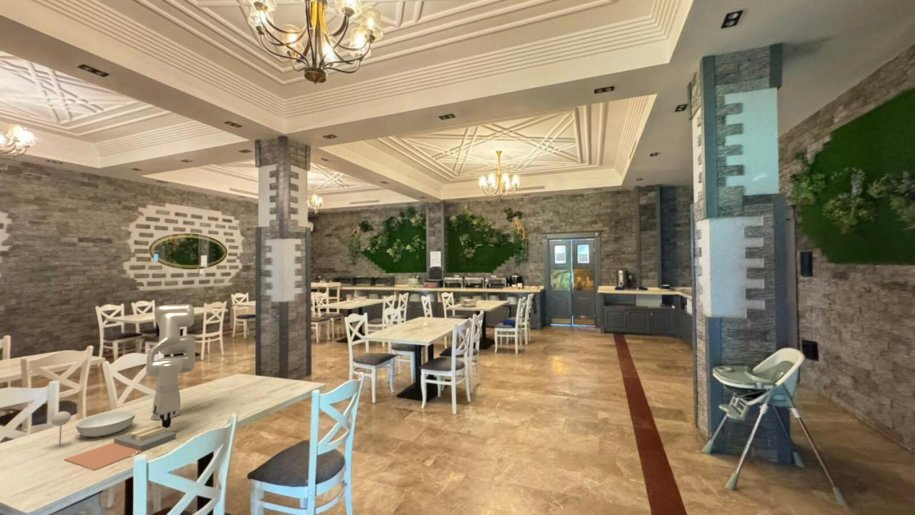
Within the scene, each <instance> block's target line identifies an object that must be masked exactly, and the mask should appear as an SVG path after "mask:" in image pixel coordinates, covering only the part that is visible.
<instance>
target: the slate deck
mask: <svg viewBox="0 0 915 515" xmlns="http://www.w3.org/2000/svg"><path fill="white" fill-rule="evenodd" d="M148 427H149V426H148ZM148 427H144V428H141V429H138V430H135V431H132V432H129V433H126V434H123V435H120V436H117V437H115V438H113V443H115V444H118V445H122V446H125V447H129V448H132V449H136V450H139V451H142V450H144V451H147V450H149V449H152V448H154V447H157V446H159V445H163V444H165V443H168V442H171V441H173V440H176V439H177V433H176V432H174V431H169V430H166V432H164V433H161V434H158V435H156V436H153V437H150V438H147V439H144V440H141V441H140V440H136V439H132V438H130V433H133V432H136V431H139V430H142V429H145V428H148ZM142 452H143V451H142Z"/></svg>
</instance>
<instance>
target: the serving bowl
mask: <svg viewBox="0 0 915 515" xmlns="http://www.w3.org/2000/svg"><path fill="white" fill-rule="evenodd" d="M135 417H136V412H135V411H133V410H115V411H107V412H103V413H102V412H101V413H97V414H95V415H91V416H88V417H85V418H82V419H80V420H78V421H77V422H76V424H75V428H76V431H77V433H78V434H79V435H82V436H85V437H104V436H108V435H112V434H115V433H118V432H120V431H122V430H124V429H126V428H128V427H129V426H130V425H131V424H132V423H133V421H134V419H135Z"/></svg>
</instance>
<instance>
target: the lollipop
mask: <svg viewBox="0 0 915 515" xmlns="http://www.w3.org/2000/svg"><path fill="white" fill-rule="evenodd" d="M71 418H72V415H71V413H70V412H68V411H59V412H57V413H55V414H54V415H53V416H52V418H51V424H53V425H54V426H56V427H58V426H59V440H58V447H61V445H62V444H61V442H62V426H63V425H66V424H68V423H69V422H70V421H71Z"/></svg>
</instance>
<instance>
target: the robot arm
mask: <svg viewBox="0 0 915 515" xmlns="http://www.w3.org/2000/svg"><path fill="white" fill-rule="evenodd" d="M154 319H155V321H156V324H157V326H158V329H159V336H158V337H159V338H158V341H157V343H156V344H154V345H153V346H152V347H151V348H150V350H149V351H148V353H147V356H146V367H145V373H146V375H147V377H151V378H153V377H155V395H154V398H153V402H152V410H151V411H152V415H151V416H150V419H151V420H153V421H161V420H162V421H161V427H165V428H166V429H168V428H170V427H171V424H172V418H176V417H177V416H180V414H181V413H182V412H181V410H180V408H181V394H180V389H179V387H180V386H181V383H179V374H183V373H184V374H186V373H190V372H192V371H194V369H195V366H196V341H195V337H194V336H192V335H181V328H189V327H192V326H193V325H194V322H195V309H194V306H193V305H192V304H189V303H188V304H187V303H185V304H184V303H183V304H181V303H179V304H165V305H164V304H162V305H158V306H156V307H155V308H154ZM158 353H160V354H161V355H173V356H164V357H162V358H159V359H157V360H155V356H156V355H157V354H158ZM174 354H175V355H174ZM176 354H183V355H176Z"/></svg>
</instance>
